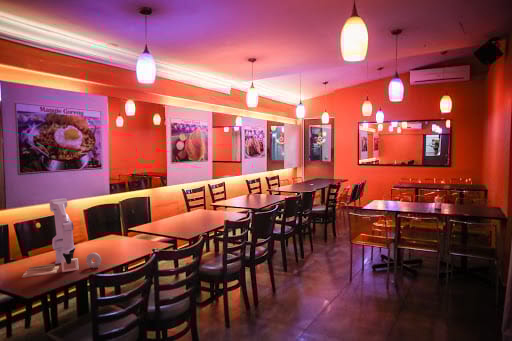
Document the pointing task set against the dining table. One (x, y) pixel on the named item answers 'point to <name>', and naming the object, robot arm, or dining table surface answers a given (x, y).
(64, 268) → the pale pink flat block
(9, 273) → the dining table surface
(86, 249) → the dining table surface
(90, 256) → the donut
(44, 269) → the notched stand
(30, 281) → the dining table surface
